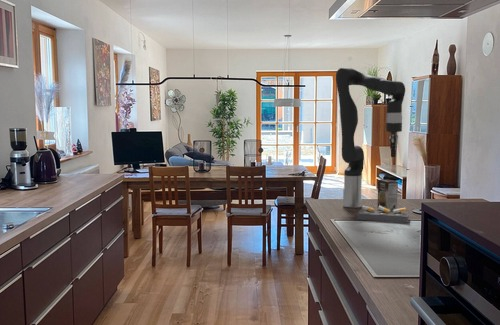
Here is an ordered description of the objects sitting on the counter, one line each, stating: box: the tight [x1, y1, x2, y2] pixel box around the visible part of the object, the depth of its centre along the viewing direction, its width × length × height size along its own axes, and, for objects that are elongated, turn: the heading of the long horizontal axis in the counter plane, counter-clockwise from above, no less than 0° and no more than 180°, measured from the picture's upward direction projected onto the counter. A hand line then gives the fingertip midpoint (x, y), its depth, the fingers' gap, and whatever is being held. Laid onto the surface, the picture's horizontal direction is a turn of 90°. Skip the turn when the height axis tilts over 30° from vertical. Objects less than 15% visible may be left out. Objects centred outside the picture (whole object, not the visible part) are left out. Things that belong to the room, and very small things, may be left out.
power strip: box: [356, 209, 410, 224], centre depth 228 cm, size 23×9×3 cm, turn 69°
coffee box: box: [377, 179, 399, 212], centre depth 247 cm, size 9×6×16 cm
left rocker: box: [361, 204, 375, 212], centre depth 233 cm, size 6×4×2 cm, turn 69°
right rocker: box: [393, 207, 407, 213], centre depth 227 cm, size 6×4×2 cm, turn 69°
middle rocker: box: [377, 205, 390, 213], centre depth 230 cm, size 6×4×2 cm, turn 69°
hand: (393, 156), depth 237 cm, fingers closed
